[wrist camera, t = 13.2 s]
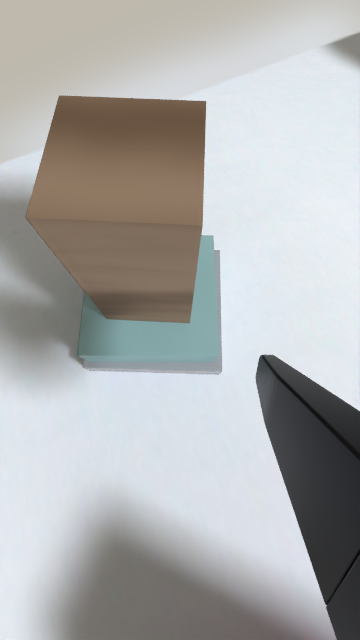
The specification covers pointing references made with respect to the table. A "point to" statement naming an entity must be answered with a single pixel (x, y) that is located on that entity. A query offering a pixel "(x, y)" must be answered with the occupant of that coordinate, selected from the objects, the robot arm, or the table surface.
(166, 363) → the grey base slab
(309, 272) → the table surface
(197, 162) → the walnut block
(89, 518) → the table surface
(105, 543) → the table surface
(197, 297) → the teal top slab
